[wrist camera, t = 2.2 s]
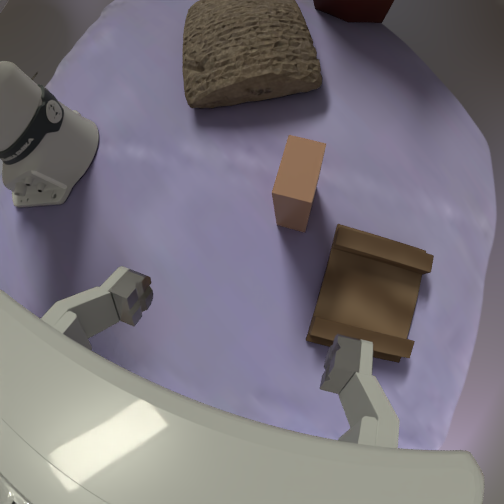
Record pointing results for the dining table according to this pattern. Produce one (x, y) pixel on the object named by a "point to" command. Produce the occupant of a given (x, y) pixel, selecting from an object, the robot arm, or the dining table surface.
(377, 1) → the bucket
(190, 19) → the stone tablet
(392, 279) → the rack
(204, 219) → the dining table surface
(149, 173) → the dining table surface
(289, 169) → the clay block
